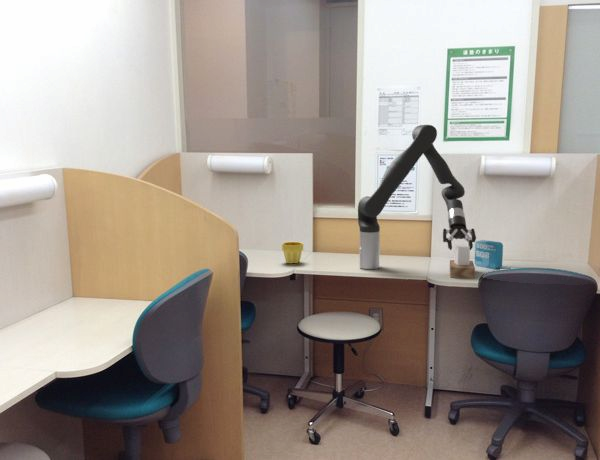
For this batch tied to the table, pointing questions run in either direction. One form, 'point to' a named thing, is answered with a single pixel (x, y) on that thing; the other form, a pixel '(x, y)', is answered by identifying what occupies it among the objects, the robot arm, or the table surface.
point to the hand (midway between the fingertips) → (460, 248)
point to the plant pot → (292, 251)
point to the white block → (462, 254)
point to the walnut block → (462, 270)
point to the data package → (488, 254)
